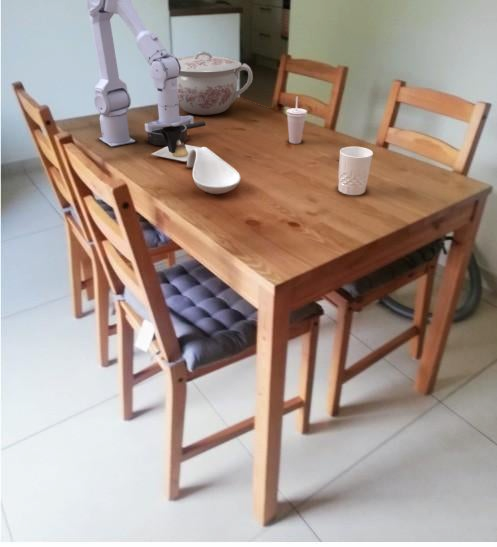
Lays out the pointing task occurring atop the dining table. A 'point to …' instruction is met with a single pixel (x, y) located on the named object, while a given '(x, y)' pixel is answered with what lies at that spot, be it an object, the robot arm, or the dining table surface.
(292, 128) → the smoothie
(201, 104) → the chamber pot
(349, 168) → the white cup
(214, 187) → the spoon rest
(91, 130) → the dining table surface
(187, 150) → the dessert
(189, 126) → the pan handle
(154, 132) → the pan
